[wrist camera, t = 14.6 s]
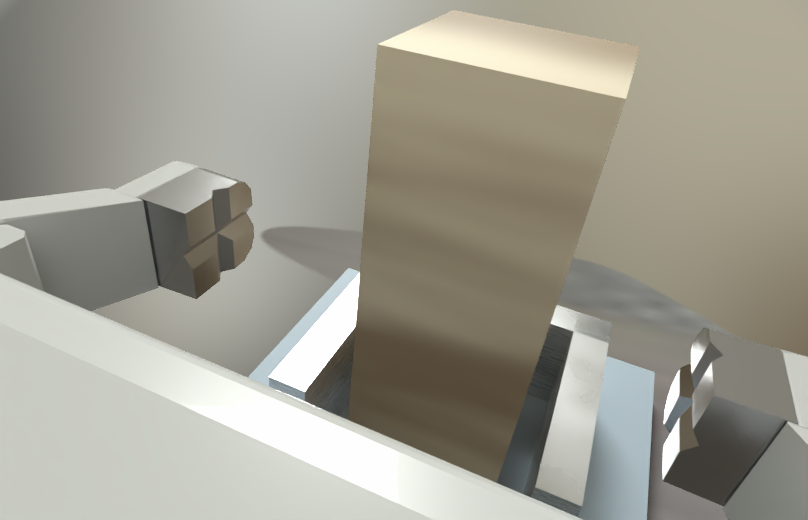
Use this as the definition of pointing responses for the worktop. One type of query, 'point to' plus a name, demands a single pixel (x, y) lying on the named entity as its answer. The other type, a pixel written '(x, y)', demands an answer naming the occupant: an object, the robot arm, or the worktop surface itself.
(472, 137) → the beech post
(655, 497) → the worktop surface
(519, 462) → the base plate
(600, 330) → the slot bracket
